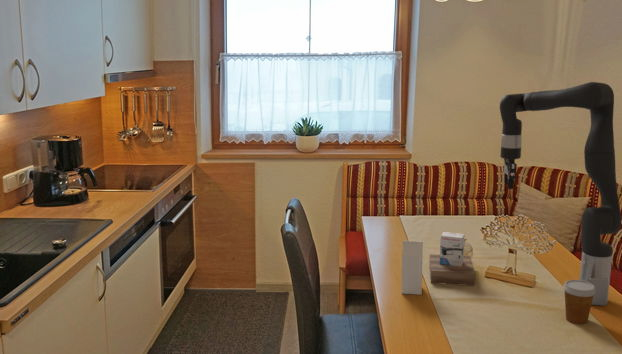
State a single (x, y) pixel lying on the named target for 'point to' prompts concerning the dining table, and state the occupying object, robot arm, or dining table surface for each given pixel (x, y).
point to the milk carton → (412, 267)
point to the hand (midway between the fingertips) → (508, 186)
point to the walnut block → (451, 272)
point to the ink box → (452, 249)
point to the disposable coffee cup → (578, 300)
